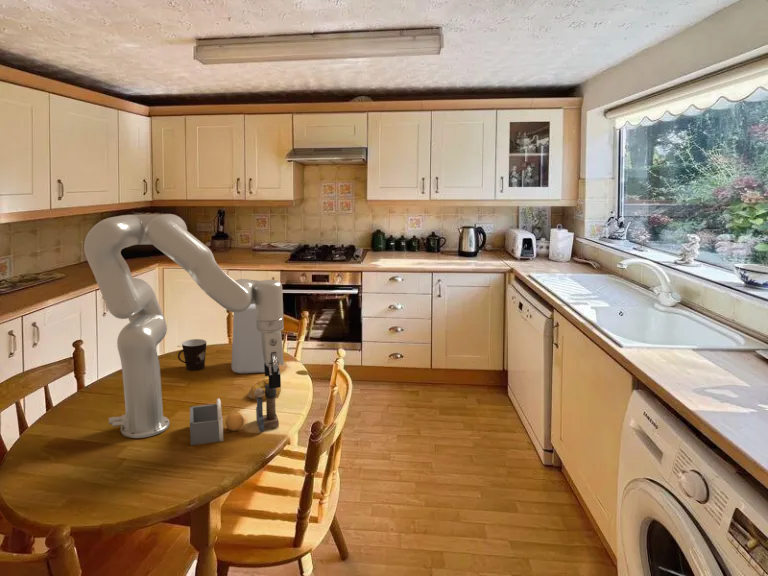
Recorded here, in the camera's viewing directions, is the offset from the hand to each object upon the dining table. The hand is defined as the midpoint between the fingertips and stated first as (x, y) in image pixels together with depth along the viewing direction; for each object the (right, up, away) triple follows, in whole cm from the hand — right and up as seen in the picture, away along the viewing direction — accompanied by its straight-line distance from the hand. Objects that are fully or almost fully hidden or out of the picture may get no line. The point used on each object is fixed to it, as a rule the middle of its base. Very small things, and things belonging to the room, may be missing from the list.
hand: (272, 381), depth 150 cm
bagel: (-8, -9, +23) cm, 26 cm away
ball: (-11, -11, -1) cm, 16 cm away
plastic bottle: (-18, -3, +49) cm, 52 cm away
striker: (-2, -13, +2) cm, 13 cm away
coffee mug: (-40, -4, +45) cm, 60 cm away
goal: (-18, -14, -3) cm, 23 cm away
